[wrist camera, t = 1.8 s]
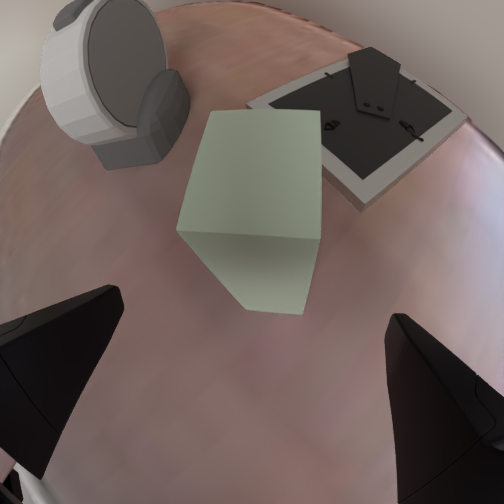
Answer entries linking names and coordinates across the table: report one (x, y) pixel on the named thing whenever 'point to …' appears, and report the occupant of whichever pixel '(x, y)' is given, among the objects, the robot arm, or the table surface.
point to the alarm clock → (113, 82)
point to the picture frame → (369, 121)
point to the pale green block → (257, 205)
